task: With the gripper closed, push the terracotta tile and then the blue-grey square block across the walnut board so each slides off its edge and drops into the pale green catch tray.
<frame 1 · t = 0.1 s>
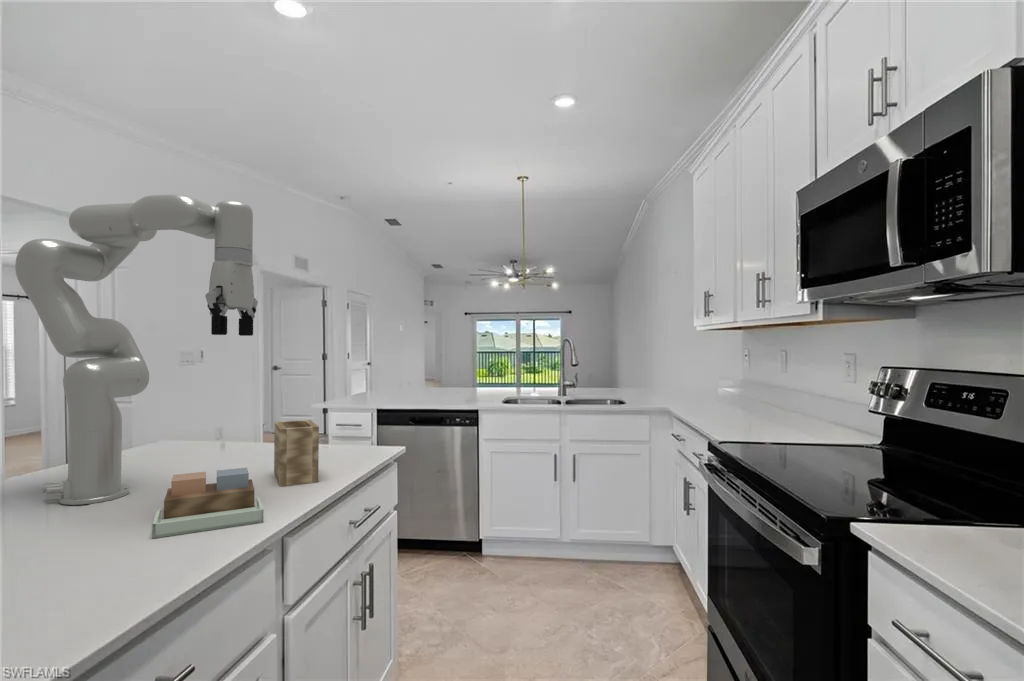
hand: (233, 335, 116), 37 cm above the worktop, fingers open, 9 cm apart
walnut board: (210, 508, 111), on the worktop
terracotta tile: (189, 490, 110), point 4 cm above the worktop, touching walnut board
catch tray: (210, 522, 102), on the worktop
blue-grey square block: (232, 485, 114), point 4 cm above the worktop, touching walnut board
utensil caddy: (295, 478, 136), on the worktop
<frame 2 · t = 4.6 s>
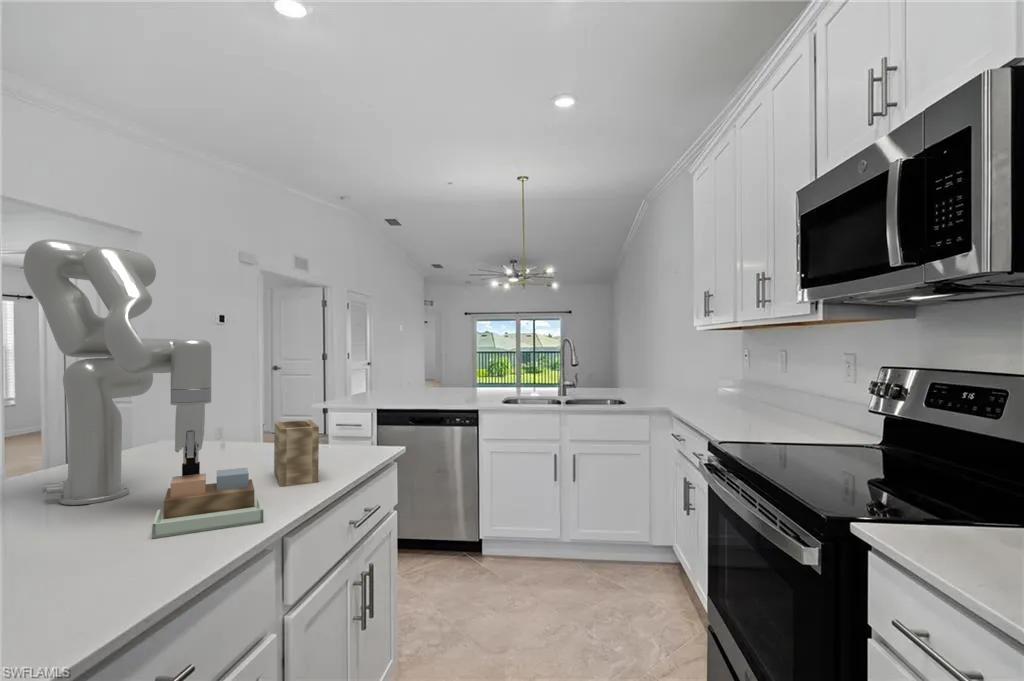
hand: (190, 481, 112), 5 cm above the worktop, fingers closed
terracotta tile: (188, 492, 108), point 4 cm above the worktop, touching gripper
everything else where it was.
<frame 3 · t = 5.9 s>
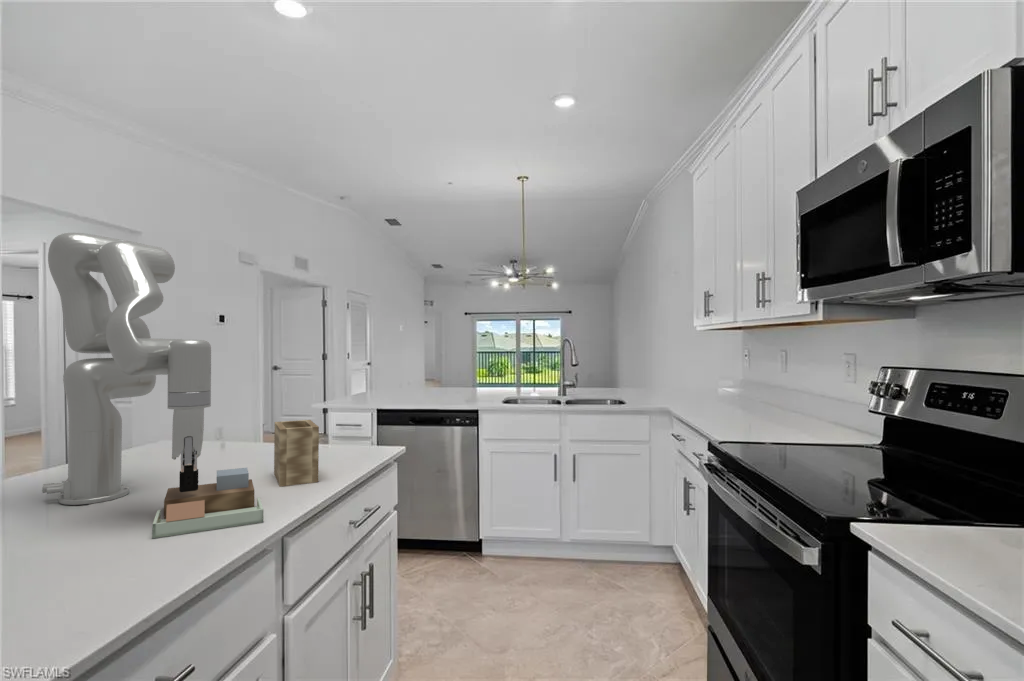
hand: (188, 490, 106), 5 cm above the worktop, fingers closed
terracotta tile: (186, 504, 99), point 4 cm above the worktop, tilted 159°, touching catch tray
everything else where it was.
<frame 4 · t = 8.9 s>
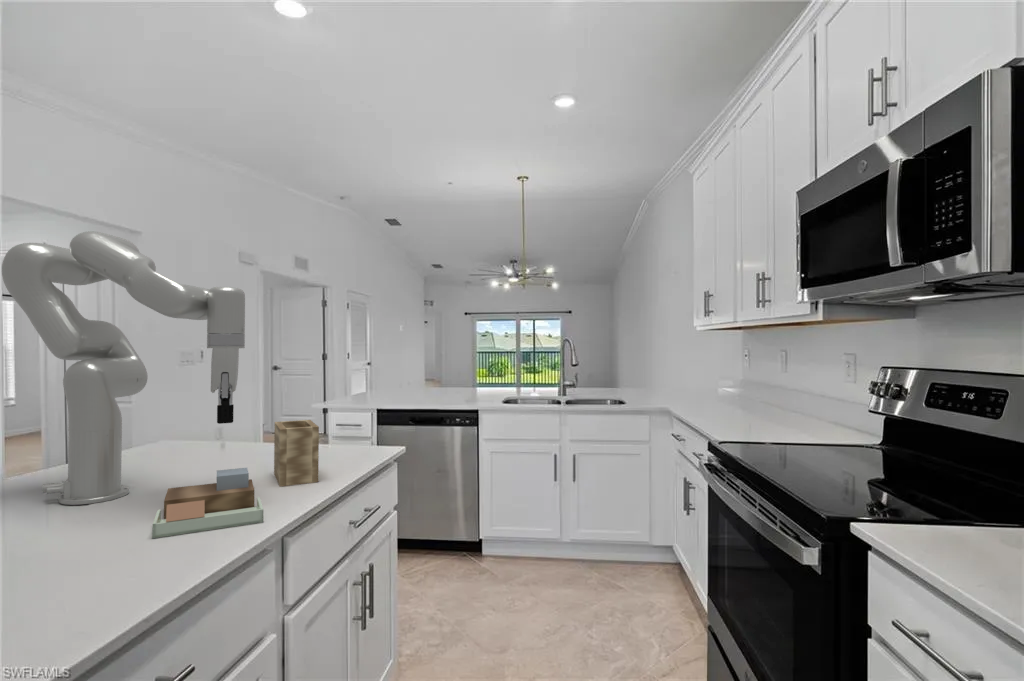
hand: (225, 422, 118), 17 cm above the worktop, fingers closed
nothing on the worktop moved.
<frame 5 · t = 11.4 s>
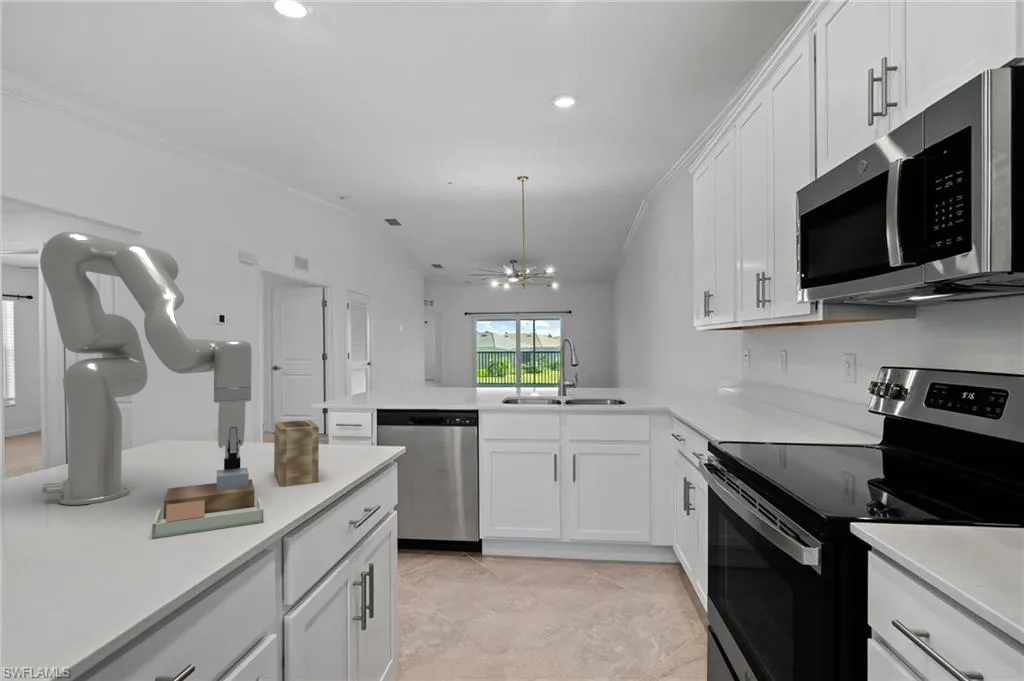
hand: (232, 475, 118), 5 cm above the worktop, fingers closed
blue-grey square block: (232, 485, 114), point 4 cm above the worktop, touching gripper, walnut board
everything else where it was.
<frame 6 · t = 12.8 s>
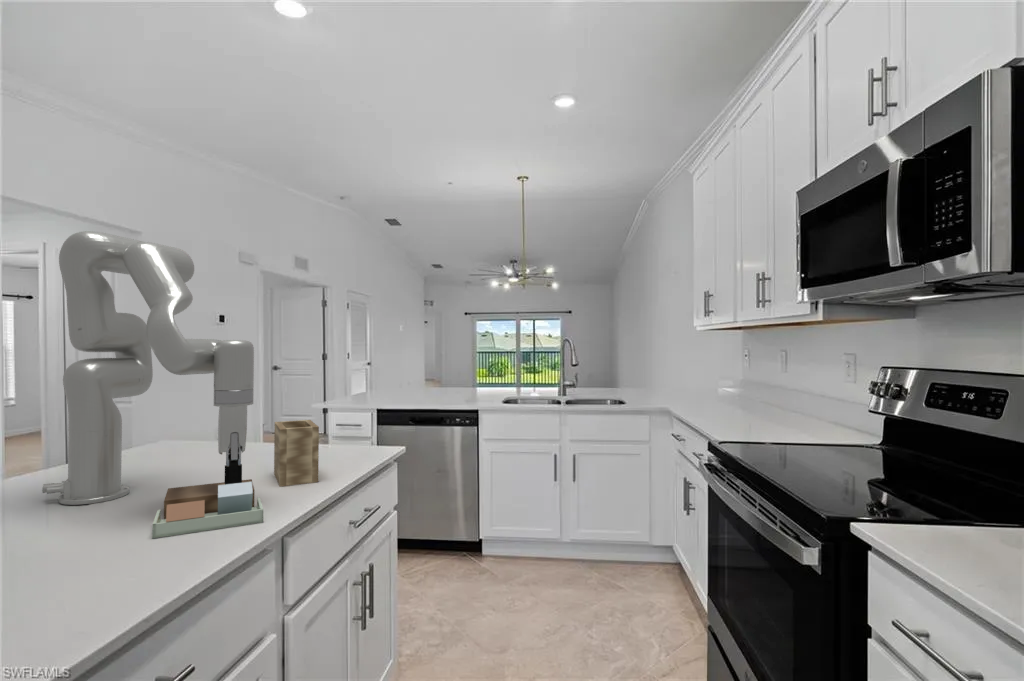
hand: (233, 483, 111), 5 cm above the worktop, fingers closed
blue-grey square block: (234, 493, 106), point 5 cm above the worktop, tilted 127°, touching catch tray
everything else where it was.
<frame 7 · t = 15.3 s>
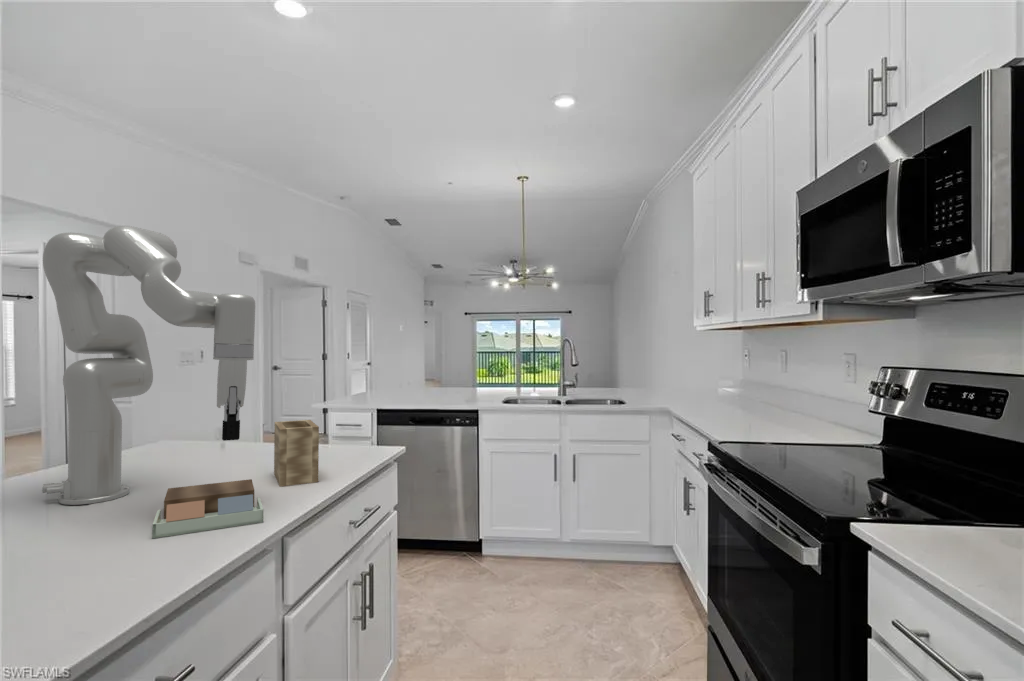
hand: (230, 439, 110), 15 cm above the worktop, fingers closed
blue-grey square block: (235, 497, 103), point 4 cm above the worktop, tilted 160°, touching catch tray
everything else where it was.
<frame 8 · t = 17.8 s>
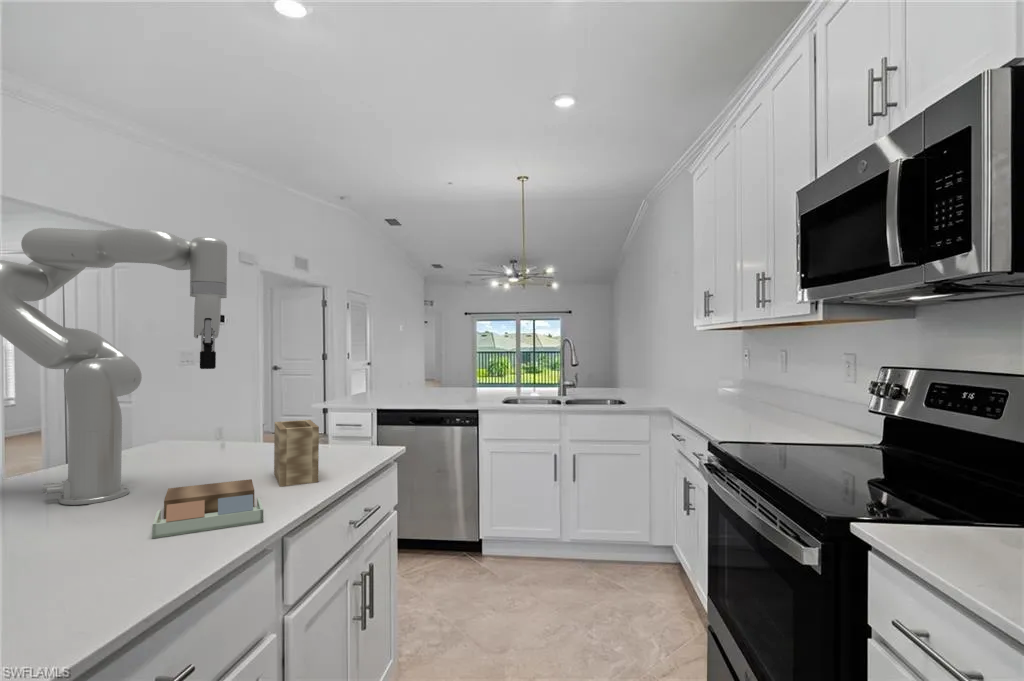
hand: (207, 368, 123), 29 cm above the worktop, fingers closed
nothing on the worktop moved.
at the end: terracotta tile inside the target area on the catch tray (4.1 cm from its centre), point 4.4 cm above the catch tray's base; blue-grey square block inside the target area on the catch tray (4.3 cm from its centre), point 4.4 cm above the catch tray's base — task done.
